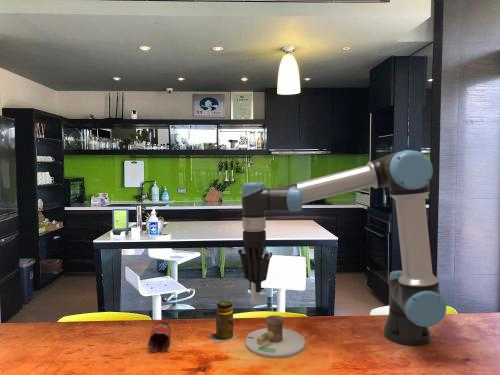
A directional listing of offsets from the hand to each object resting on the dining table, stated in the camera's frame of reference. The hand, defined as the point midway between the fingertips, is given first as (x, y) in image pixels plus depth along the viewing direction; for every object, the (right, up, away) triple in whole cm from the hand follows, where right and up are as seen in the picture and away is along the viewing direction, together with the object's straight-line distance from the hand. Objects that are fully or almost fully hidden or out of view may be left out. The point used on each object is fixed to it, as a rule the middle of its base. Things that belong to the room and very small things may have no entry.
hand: (255, 301), depth 129 cm
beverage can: (-32, -16, +4) cm, 36 cm away
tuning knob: (+5, -14, +1) cm, 15 cm away
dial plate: (+7, -16, +4) cm, 17 cm away
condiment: (-12, -16, +10) cm, 22 cm away
